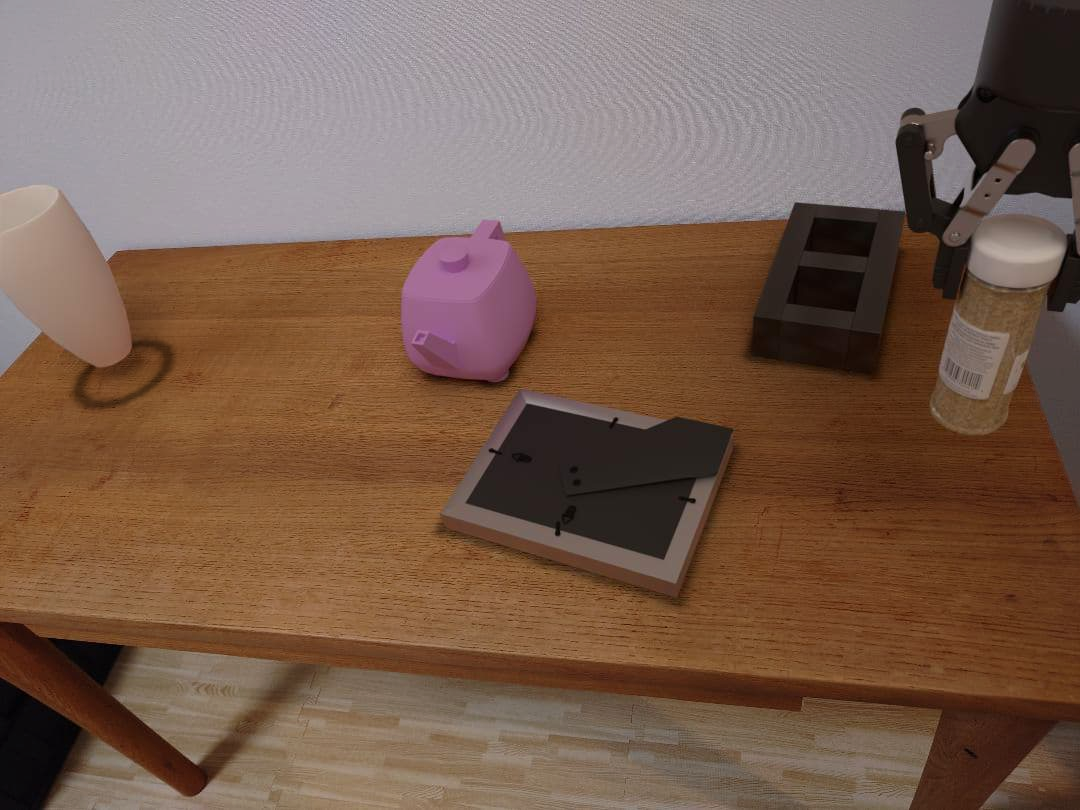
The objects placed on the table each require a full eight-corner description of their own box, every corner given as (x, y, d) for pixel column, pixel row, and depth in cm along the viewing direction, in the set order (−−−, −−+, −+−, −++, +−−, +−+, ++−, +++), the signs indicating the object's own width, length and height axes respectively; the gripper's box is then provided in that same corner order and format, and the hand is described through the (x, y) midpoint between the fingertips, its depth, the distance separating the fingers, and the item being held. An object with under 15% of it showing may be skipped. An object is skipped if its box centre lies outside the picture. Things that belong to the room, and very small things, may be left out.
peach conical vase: (60, 393, 91) (-69, 233, 76) (127, 336, 98) (20, 177, 83) (122, 413, 87) (-2, 247, 72) (188, 351, 93) (86, 187, 78)
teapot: (461, 290, 94) (434, 194, 85) (562, 299, 90) (545, 199, 81) (386, 411, 81) (346, 313, 72) (500, 428, 77) (472, 326, 68)
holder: (898, 251, 86) (905, 211, 83) (873, 374, 74) (880, 333, 71) (791, 240, 91) (794, 202, 87) (751, 355, 79) (753, 316, 75)
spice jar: (1022, 424, 50) (1092, 242, 40) (956, 447, 49) (1011, 269, 40) (974, 379, 53) (1028, 200, 44) (911, 399, 53) (952, 224, 43)
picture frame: (732, 450, 71) (523, 403, 79) (733, 428, 69) (518, 382, 77) (677, 598, 61) (445, 528, 69) (675, 578, 59) (437, 508, 67)
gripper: (904, 4, 33) (855, 322, 45) (1348, -2, 28) (1160, 360, 40) (921, -57, 38) (873, 246, 50) (1305, -73, 32) (1148, 271, 44)
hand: (1001, 295), depth 45 cm, fingers closed on spice jar, 4 cm apart
